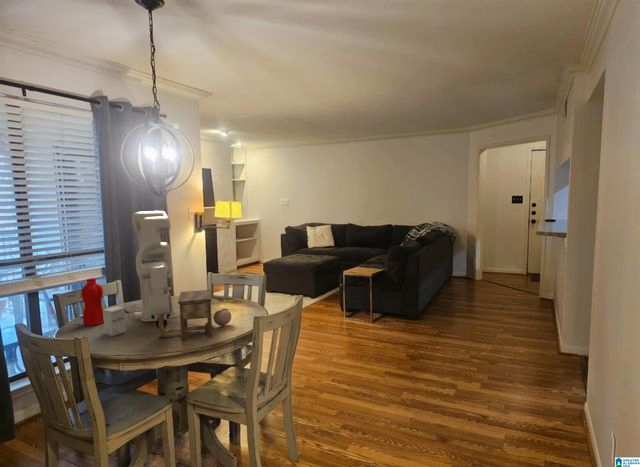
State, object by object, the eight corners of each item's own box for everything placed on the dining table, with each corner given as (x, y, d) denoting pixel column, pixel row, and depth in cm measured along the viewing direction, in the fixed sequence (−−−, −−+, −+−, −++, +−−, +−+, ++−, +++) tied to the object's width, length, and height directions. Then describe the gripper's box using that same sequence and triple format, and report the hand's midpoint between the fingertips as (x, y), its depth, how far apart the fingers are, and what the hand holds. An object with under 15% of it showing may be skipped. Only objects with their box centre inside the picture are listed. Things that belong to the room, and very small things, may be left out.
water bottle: (93, 319, 221) (89, 275, 218) (108, 321, 217) (104, 277, 214) (78, 325, 212) (74, 279, 209) (93, 327, 208) (89, 280, 206)
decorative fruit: (222, 330, 200) (221, 311, 199) (211, 327, 204) (210, 309, 203) (235, 325, 208) (234, 306, 207) (224, 322, 212) (223, 304, 211)
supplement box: (112, 336, 194) (110, 311, 193) (104, 333, 198) (102, 309, 197) (126, 331, 201) (124, 307, 199) (118, 329, 205) (116, 305, 203)
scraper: (158, 339, 189) (157, 316, 187) (160, 332, 197) (159, 311, 196) (207, 333, 195) (206, 312, 194) (207, 327, 203) (206, 307, 202)
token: (190, 335, 195) (190, 333, 195) (190, 332, 199) (190, 330, 199) (199, 334, 196) (199, 332, 196) (200, 331, 200) (200, 329, 200)
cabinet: (180, 341, 187) (178, 301, 185) (182, 328, 205) (180, 291, 203) (213, 337, 191) (211, 298, 189) (212, 325, 209) (211, 289, 207)
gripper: (177, 287, 197) (179, 323, 199) (142, 290, 192) (145, 326, 194) (176, 291, 189) (178, 328, 191) (140, 294, 185) (142, 332, 187)
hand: (161, 327), depth 193 cm, fingers closed on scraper
